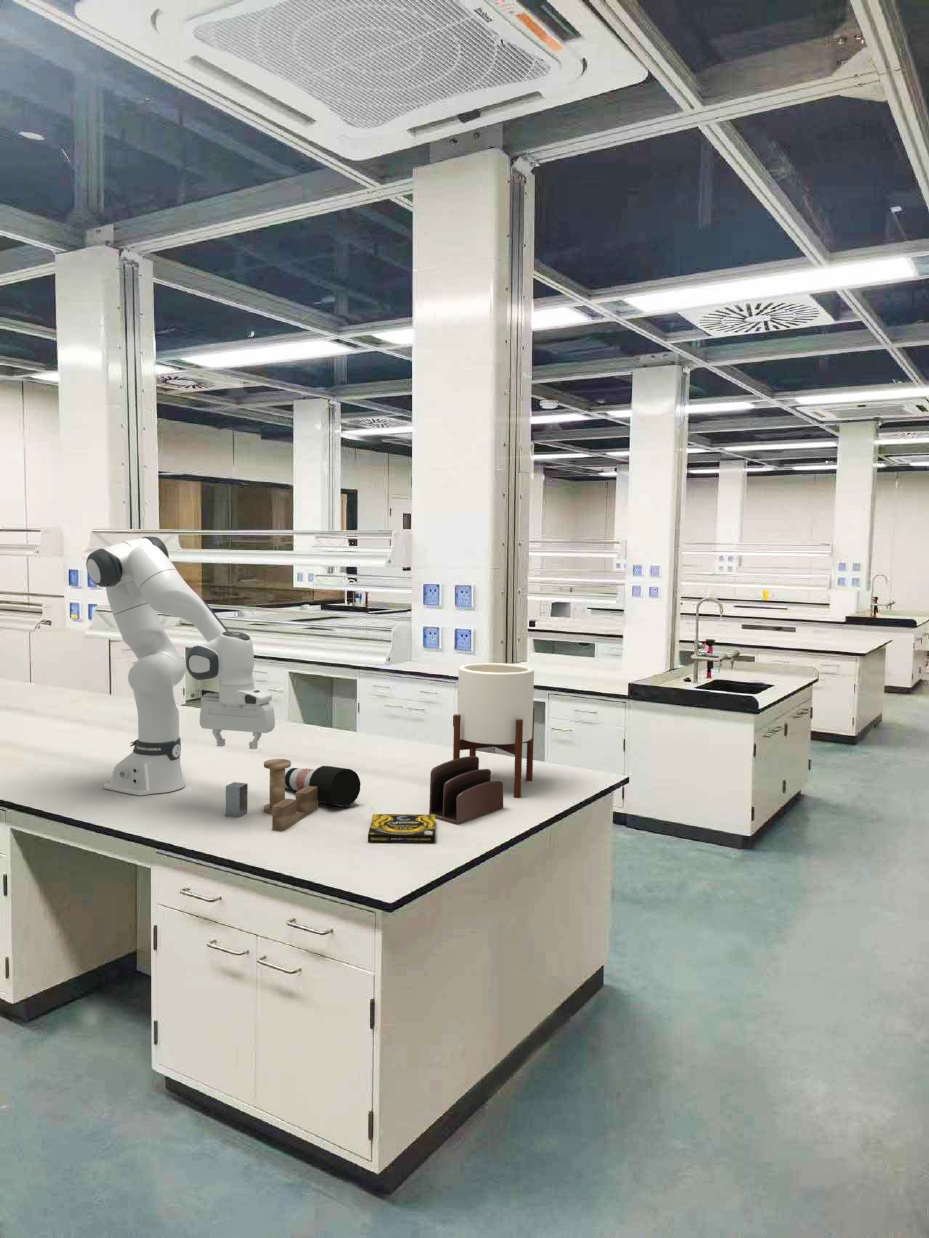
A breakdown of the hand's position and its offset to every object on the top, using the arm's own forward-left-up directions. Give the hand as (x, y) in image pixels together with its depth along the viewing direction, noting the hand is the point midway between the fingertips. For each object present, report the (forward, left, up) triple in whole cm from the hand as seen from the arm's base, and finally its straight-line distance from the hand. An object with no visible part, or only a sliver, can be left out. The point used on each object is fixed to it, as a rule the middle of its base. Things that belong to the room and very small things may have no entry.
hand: (237, 747), depth 218 cm
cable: (+10, +22, -18) cm, 31 cm away
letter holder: (+56, +22, -18) cm, 63 cm away
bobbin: (+8, +7, -18) cm, 21 cm away
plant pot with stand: (+57, +50, -18) cm, 78 cm away
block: (0, 0, -18) cm, 18 cm away
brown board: (+16, +2, -18) cm, 24 cm away
